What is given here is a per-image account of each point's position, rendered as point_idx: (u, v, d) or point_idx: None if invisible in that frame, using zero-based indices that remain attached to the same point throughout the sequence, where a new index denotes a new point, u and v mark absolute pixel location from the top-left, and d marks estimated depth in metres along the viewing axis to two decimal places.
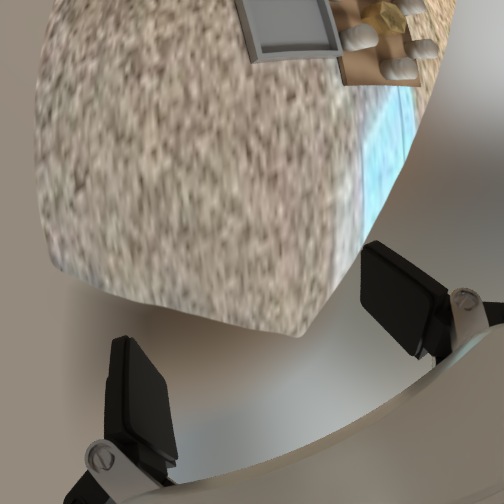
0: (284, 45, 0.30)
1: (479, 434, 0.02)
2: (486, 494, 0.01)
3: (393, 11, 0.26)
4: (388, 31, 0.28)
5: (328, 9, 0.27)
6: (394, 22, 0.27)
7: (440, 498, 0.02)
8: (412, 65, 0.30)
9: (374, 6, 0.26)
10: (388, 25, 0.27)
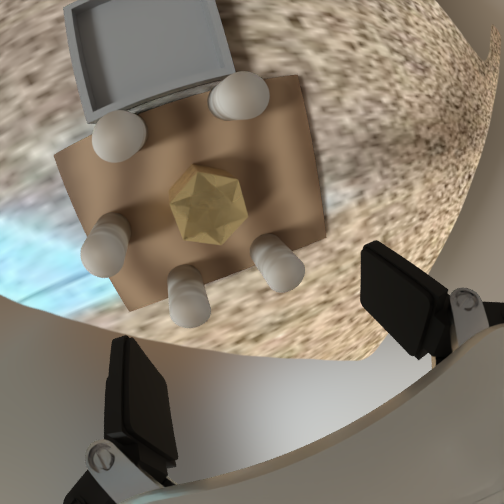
0: (95, 40, 0.16)
1: (479, 434, 0.02)
2: (486, 494, 0.01)
3: (226, 208, 0.23)
4: None
5: (175, 83, 0.20)
6: (195, 211, 0.22)
7: (440, 498, 0.02)
8: (110, 261, 0.21)
9: (223, 173, 0.23)
10: (178, 196, 0.21)
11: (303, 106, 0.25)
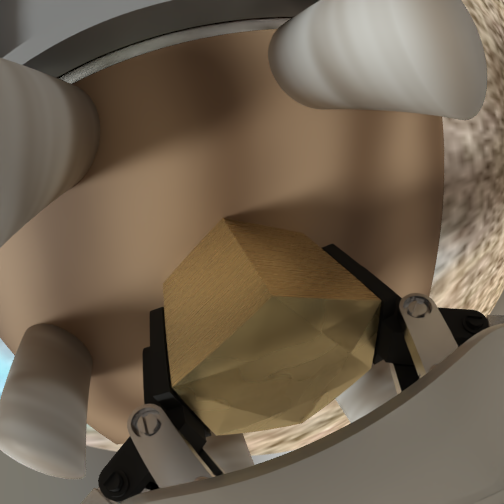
0: None
1: (479, 434, 0.02)
2: (486, 494, 0.01)
3: (333, 369, 0.08)
4: None
5: None
6: (253, 392, 0.07)
7: (440, 498, 0.02)
8: (58, 467, 0.05)
9: (324, 265, 0.08)
10: (200, 367, 0.06)
11: None
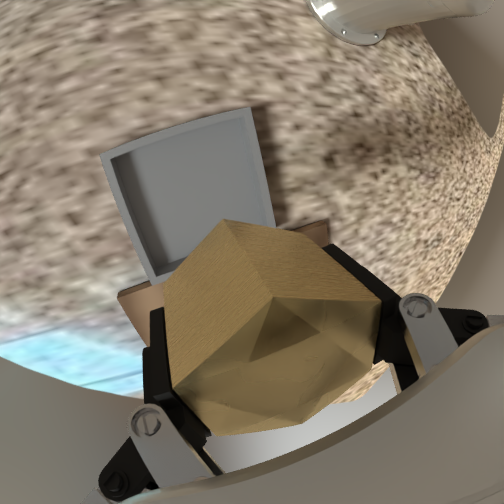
0: (142, 194, 0.24)
1: (479, 434, 0.02)
2: (486, 494, 0.01)
3: (333, 369, 0.08)
4: None
5: None
6: (254, 393, 0.07)
7: (440, 498, 0.02)
8: None
9: (325, 266, 0.08)
10: (200, 368, 0.06)
11: None
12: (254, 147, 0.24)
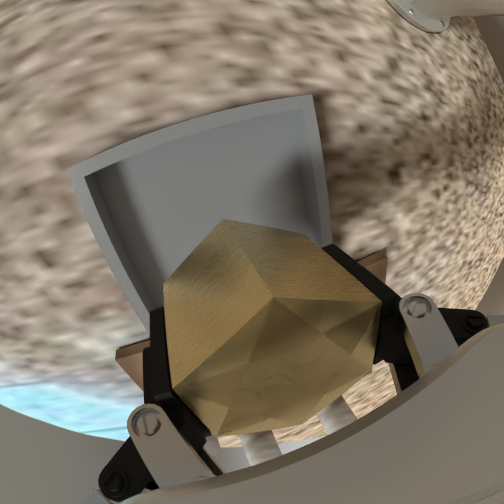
0: (140, 227, 0.16)
1: (479, 434, 0.02)
2: (486, 494, 0.01)
3: (333, 369, 0.08)
4: None
5: None
6: (254, 393, 0.07)
7: (440, 498, 0.02)
8: None
9: (325, 266, 0.08)
10: (200, 368, 0.06)
11: None
12: (316, 158, 0.15)
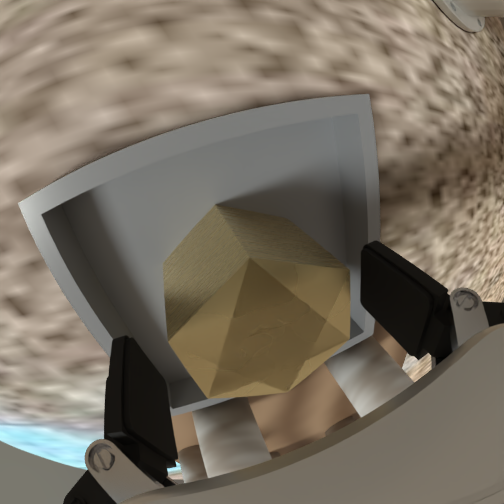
0: (128, 276, 0.11)
1: (479, 434, 0.02)
2: (486, 494, 0.01)
3: (311, 334, 0.09)
4: None
5: None
6: (239, 351, 0.08)
7: (440, 498, 0.02)
8: None
9: (301, 241, 0.10)
10: (191, 322, 0.07)
11: None
12: (371, 182, 0.11)
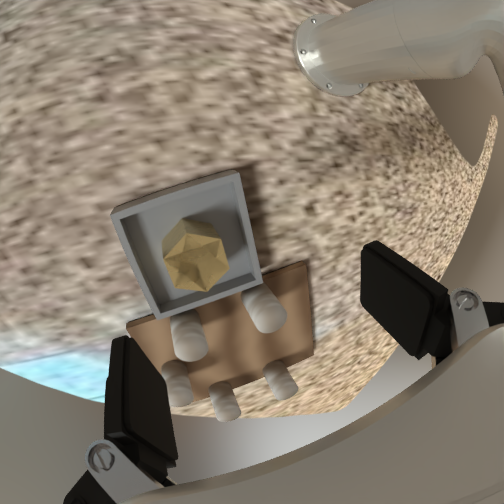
0: (147, 246, 0.29)
1: (479, 434, 0.02)
2: (486, 494, 0.01)
3: (211, 262, 0.27)
4: None
5: (220, 294, 0.33)
6: (185, 265, 0.26)
7: (440, 498, 0.02)
8: (185, 400, 0.33)
9: (209, 231, 0.28)
10: (170, 252, 0.25)
11: (307, 286, 0.39)
12: (242, 208, 0.29)
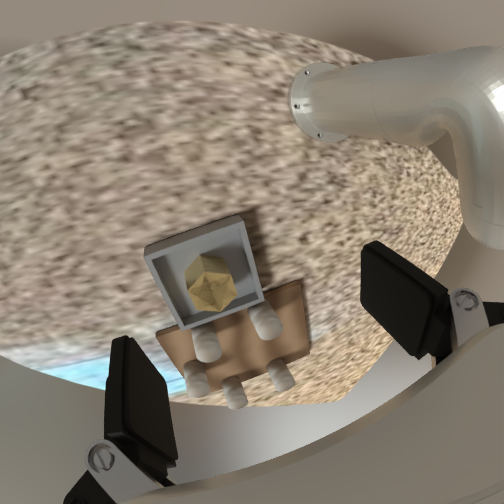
0: (172, 275, 0.38)
1: (479, 434, 0.02)
2: (486, 494, 0.01)
3: (223, 291, 0.36)
4: None
5: (231, 310, 0.42)
6: (204, 294, 0.35)
7: (440, 498, 0.02)
8: (203, 392, 0.43)
9: (221, 266, 0.37)
10: (192, 285, 0.34)
11: (301, 300, 0.48)
12: (247, 247, 0.38)
